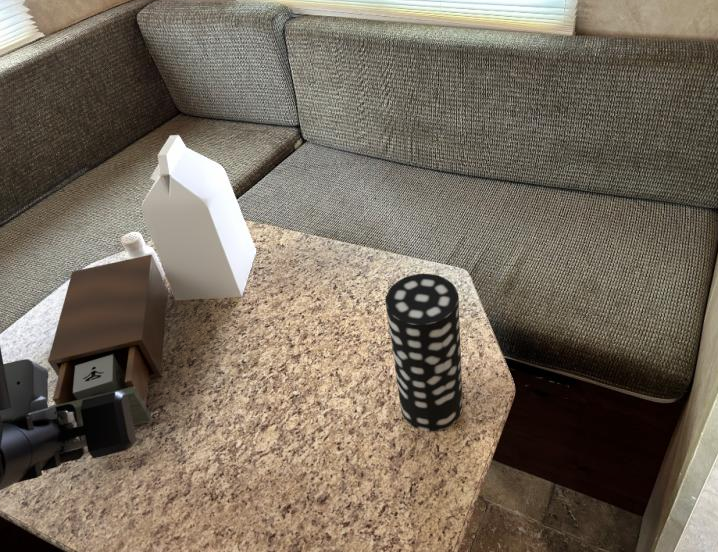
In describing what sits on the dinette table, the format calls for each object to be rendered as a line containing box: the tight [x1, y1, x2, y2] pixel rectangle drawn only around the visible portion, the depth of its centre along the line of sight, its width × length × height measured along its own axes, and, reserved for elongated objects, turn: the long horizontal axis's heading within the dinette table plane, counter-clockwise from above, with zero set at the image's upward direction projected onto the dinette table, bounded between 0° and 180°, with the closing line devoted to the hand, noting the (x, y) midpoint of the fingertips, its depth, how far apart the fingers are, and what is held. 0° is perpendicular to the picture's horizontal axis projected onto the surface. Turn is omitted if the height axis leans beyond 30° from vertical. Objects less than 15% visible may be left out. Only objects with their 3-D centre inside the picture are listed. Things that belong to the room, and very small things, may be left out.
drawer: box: [48, 345, 152, 456], centre depth 85 cm, size 23×11×6 cm, turn 14°
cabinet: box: [47, 255, 169, 380], centre depth 94 cm, size 20×13×8 cm, turn 14°
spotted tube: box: [385, 273, 464, 432], centre depth 75 cm, size 8×8×20 cm
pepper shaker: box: [120, 231, 166, 279], centre depth 104 cm, size 4×4×10 cm
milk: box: [141, 134, 257, 301], centre depth 98 cm, size 12×12×26 cm
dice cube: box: [73, 354, 126, 400], centre depth 83 cm, size 5×5×5 cm
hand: (71, 427), depth 72 cm, fingers closed
